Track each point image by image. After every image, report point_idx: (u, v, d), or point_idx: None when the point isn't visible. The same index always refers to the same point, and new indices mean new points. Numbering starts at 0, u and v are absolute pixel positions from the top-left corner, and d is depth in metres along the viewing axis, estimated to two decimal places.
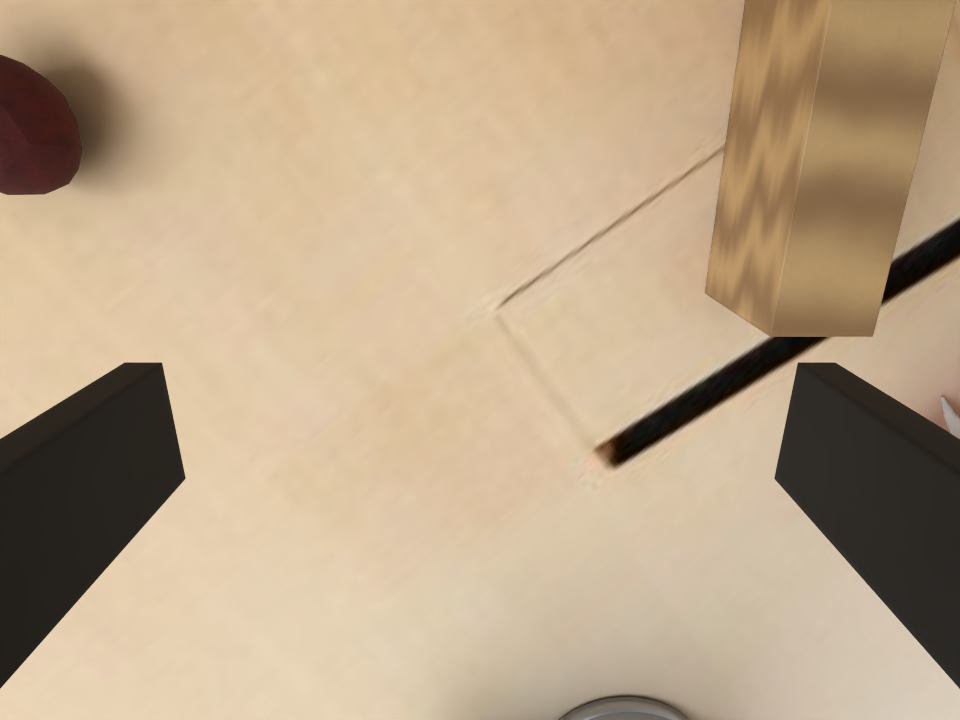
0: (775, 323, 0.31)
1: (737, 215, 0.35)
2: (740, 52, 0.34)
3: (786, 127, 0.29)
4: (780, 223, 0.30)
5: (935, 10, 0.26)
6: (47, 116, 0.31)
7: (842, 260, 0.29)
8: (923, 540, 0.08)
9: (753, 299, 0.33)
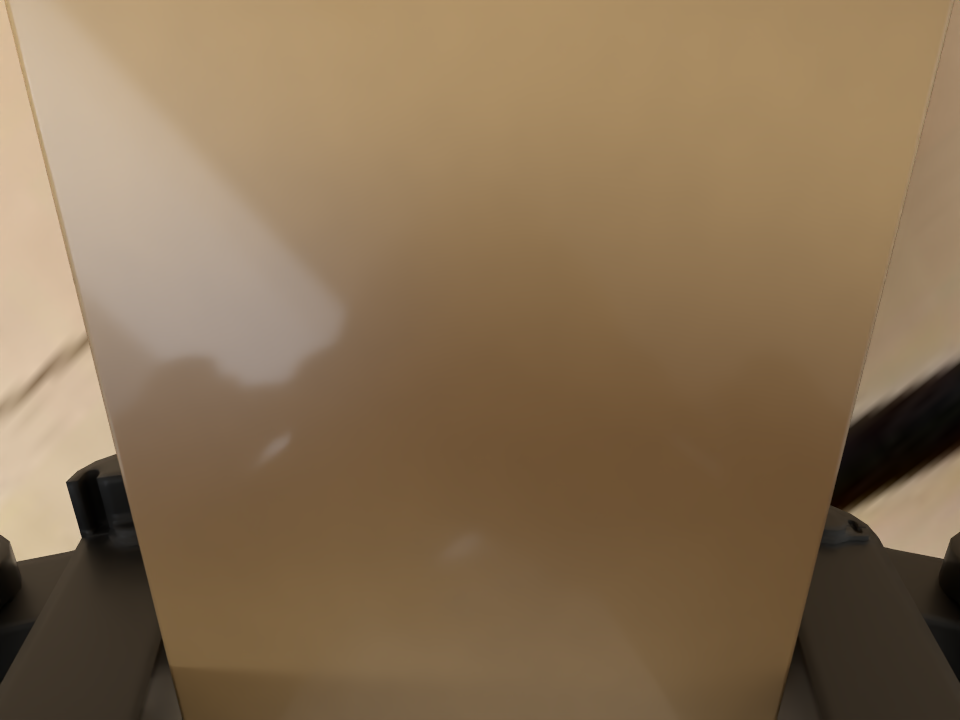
0: None
1: None
2: None
3: None
4: None
5: None
6: None
7: (504, 708, 0.05)
8: None
9: None
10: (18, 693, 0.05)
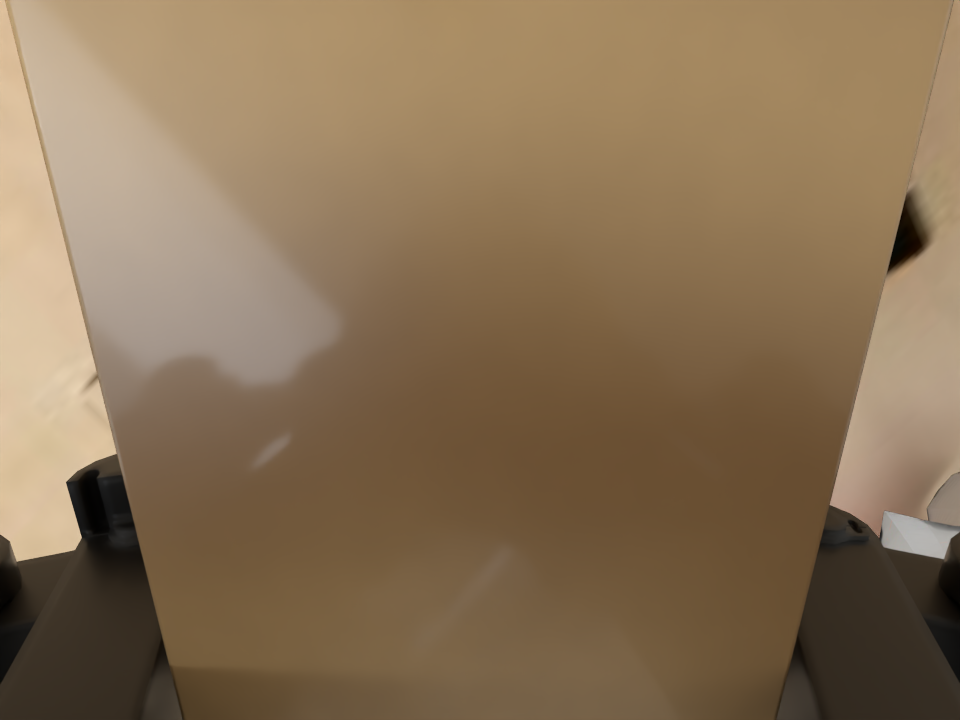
0: None
1: None
2: None
3: None
4: None
5: None
6: None
7: (503, 707, 0.05)
8: None
9: None
10: (18, 693, 0.05)
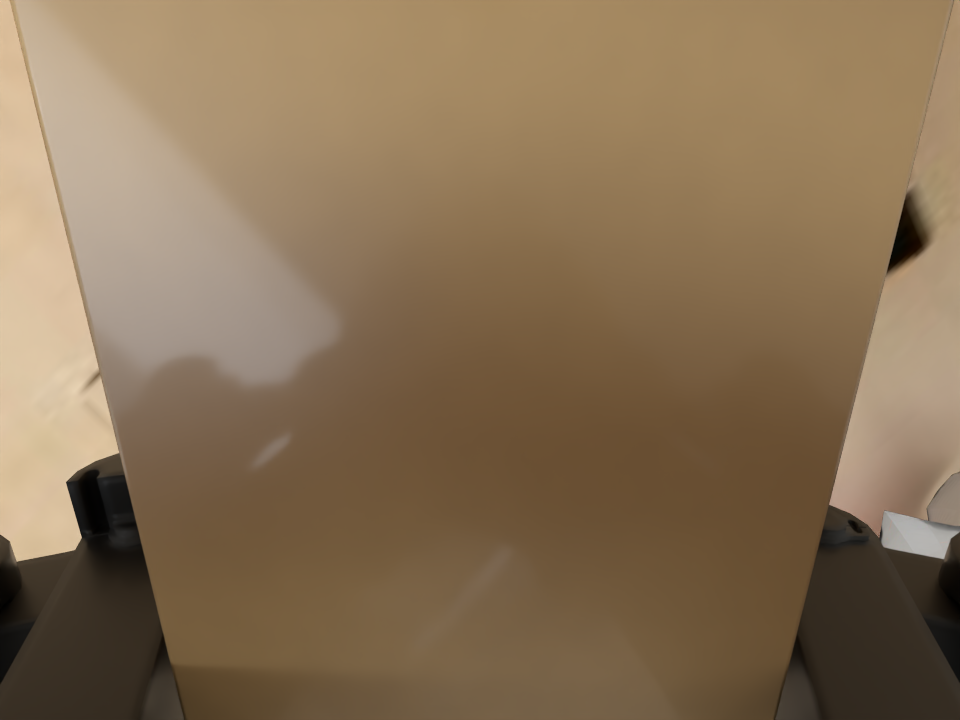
0: None
1: None
2: None
3: None
4: None
5: None
6: None
7: (504, 706, 0.05)
8: None
9: None
10: (18, 693, 0.05)
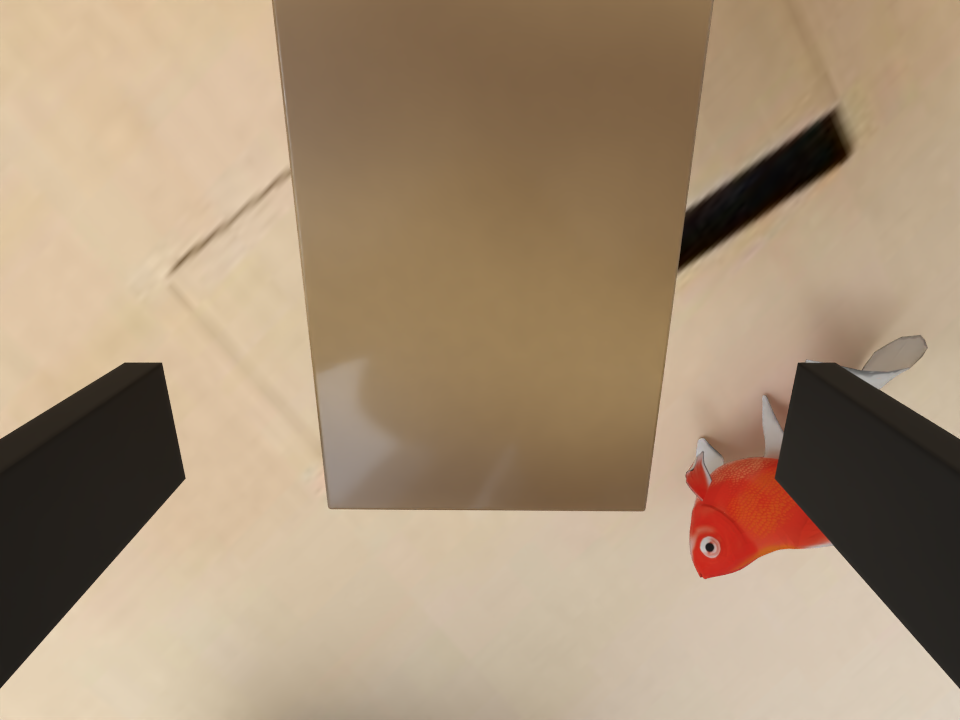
0: (333, 472, 0.10)
1: None
2: None
3: None
4: None
5: None
6: None
7: (504, 279, 0.09)
8: (923, 540, 0.08)
9: None
10: None
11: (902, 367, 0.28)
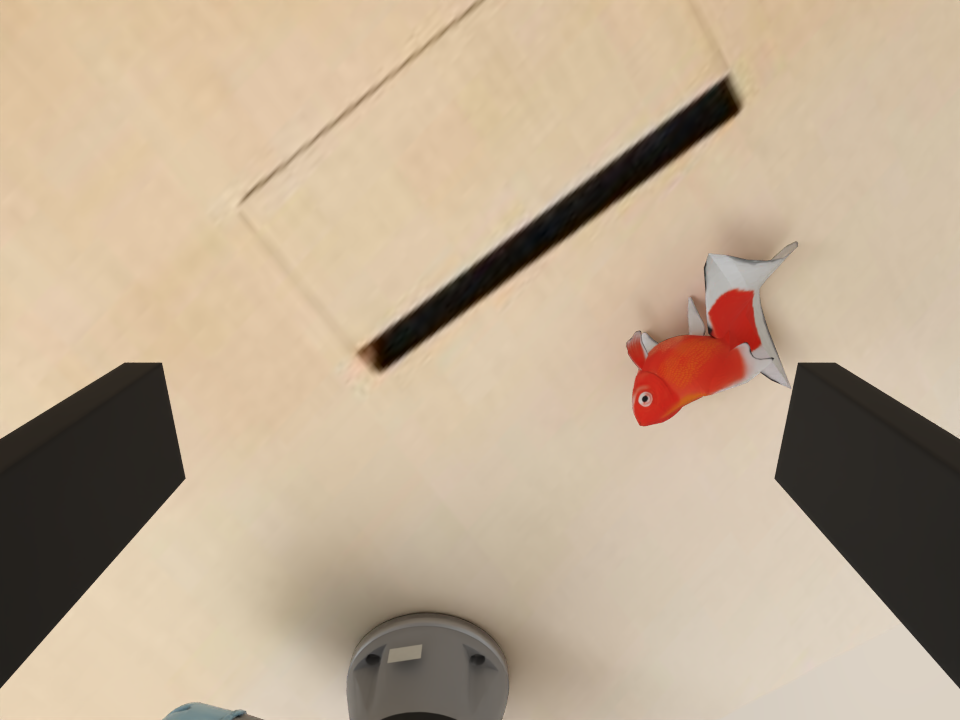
0: None
1: None
2: None
3: None
4: None
5: None
6: None
7: None
8: (923, 540, 0.08)
9: None
10: None
11: None
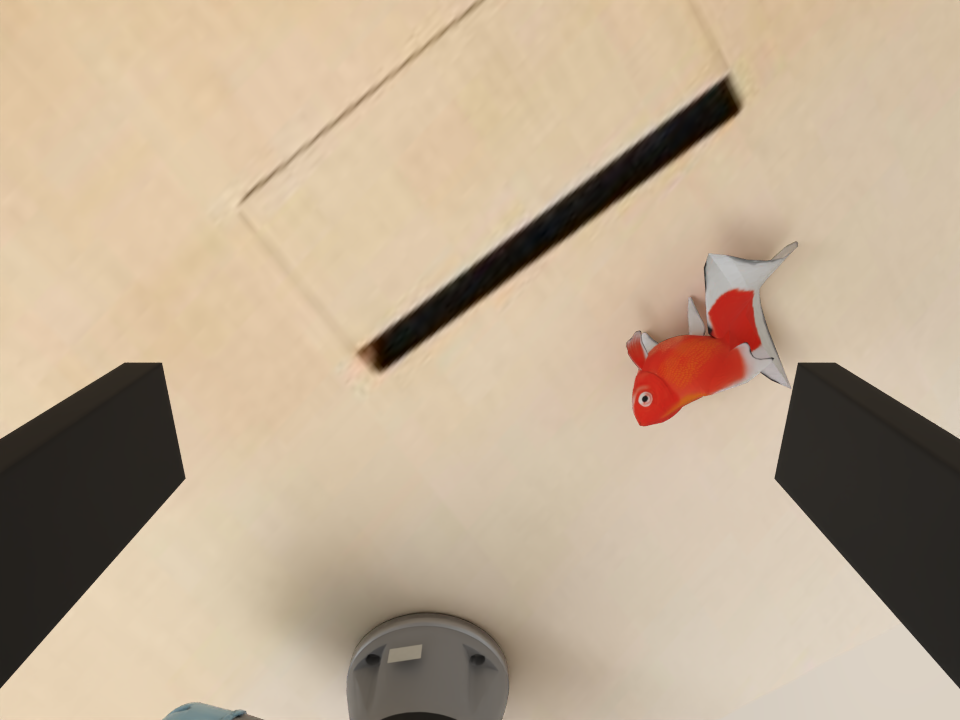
0: None
1: None
2: None
3: None
4: None
5: None
6: None
7: None
8: (923, 540, 0.08)
9: None
10: None
11: None
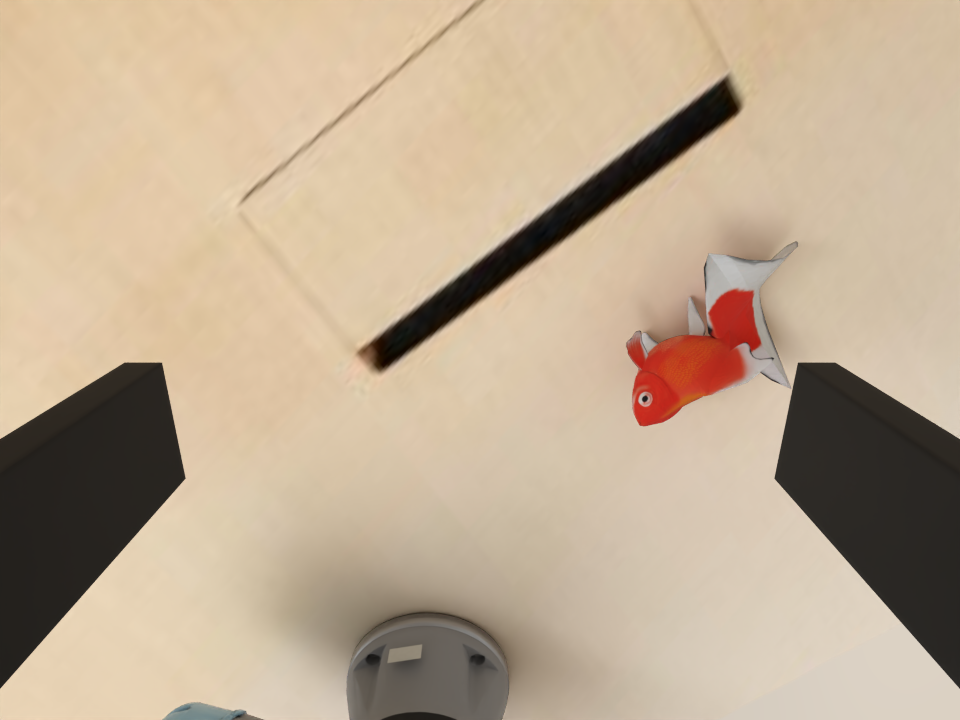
0: None
1: None
2: None
3: None
4: None
5: None
6: None
7: None
8: (923, 540, 0.08)
9: None
10: None
11: None
